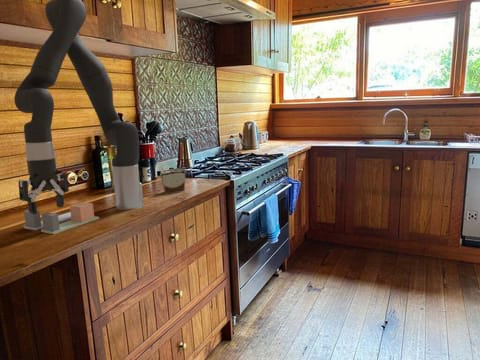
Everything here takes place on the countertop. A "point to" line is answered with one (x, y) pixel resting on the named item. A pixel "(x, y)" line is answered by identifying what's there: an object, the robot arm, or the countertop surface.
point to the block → (82, 212)
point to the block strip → (69, 225)
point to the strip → (61, 218)
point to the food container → (173, 180)
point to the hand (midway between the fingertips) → (47, 210)
